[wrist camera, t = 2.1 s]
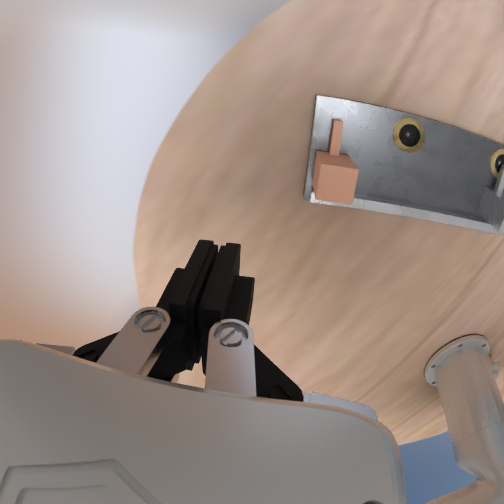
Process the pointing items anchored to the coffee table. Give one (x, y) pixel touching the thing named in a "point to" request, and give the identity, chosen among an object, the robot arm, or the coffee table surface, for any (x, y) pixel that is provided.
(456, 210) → the plate
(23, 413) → the robot arm
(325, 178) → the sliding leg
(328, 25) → the coffee table surface
